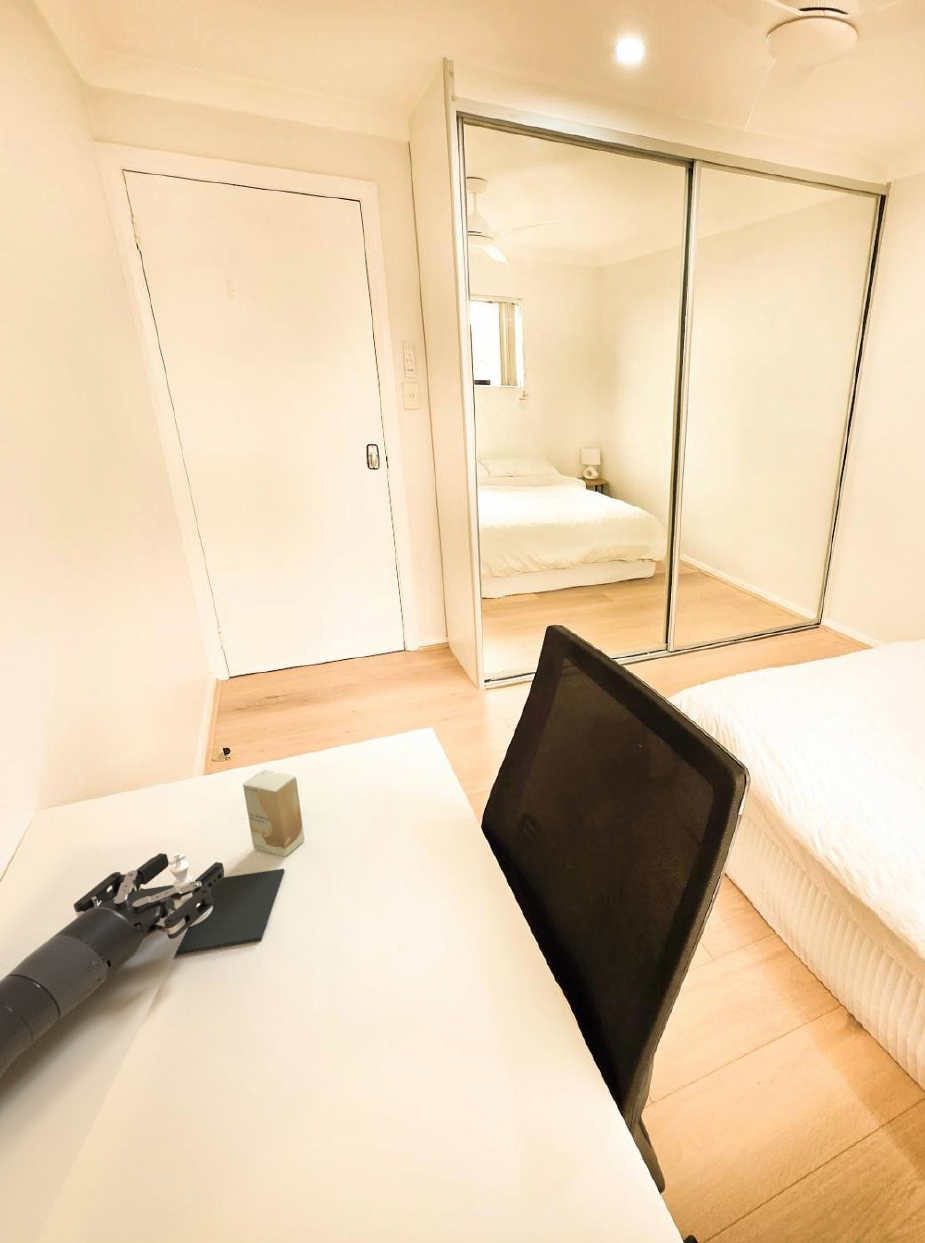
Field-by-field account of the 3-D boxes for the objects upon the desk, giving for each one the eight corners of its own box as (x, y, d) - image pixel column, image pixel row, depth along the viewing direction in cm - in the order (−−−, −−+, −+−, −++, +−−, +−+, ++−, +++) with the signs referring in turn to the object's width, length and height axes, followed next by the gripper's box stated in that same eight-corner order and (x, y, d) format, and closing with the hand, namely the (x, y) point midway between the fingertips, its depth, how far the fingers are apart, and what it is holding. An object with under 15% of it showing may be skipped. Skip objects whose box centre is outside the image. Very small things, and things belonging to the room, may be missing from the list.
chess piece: (220, 909, 84) (206, 850, 81) (180, 934, 80) (164, 873, 77) (201, 895, 86) (186, 837, 83) (161, 918, 82) (145, 858, 79)
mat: (79, 972, 75) (78, 968, 75) (129, 894, 87) (128, 891, 86) (261, 940, 80) (260, 937, 80) (284, 871, 92) (284, 868, 92)
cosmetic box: (252, 850, 96) (239, 783, 92) (273, 832, 100) (261, 768, 96) (287, 858, 95) (275, 791, 91) (307, 840, 99) (296, 775, 95)
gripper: (29, 977, 70) (153, 877, 85) (137, 1000, 68) (245, 892, 83) (9, 927, 67) (141, 832, 83) (121, 948, 65) (235, 847, 80)
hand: (193, 862), depth 83 cm, fingers open, 8 cm apart
